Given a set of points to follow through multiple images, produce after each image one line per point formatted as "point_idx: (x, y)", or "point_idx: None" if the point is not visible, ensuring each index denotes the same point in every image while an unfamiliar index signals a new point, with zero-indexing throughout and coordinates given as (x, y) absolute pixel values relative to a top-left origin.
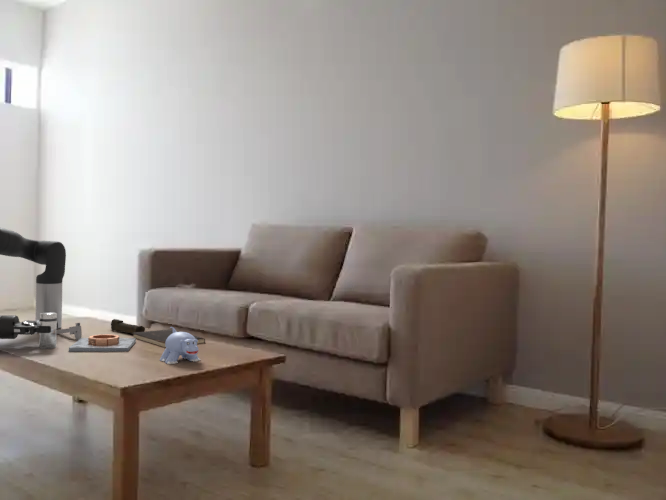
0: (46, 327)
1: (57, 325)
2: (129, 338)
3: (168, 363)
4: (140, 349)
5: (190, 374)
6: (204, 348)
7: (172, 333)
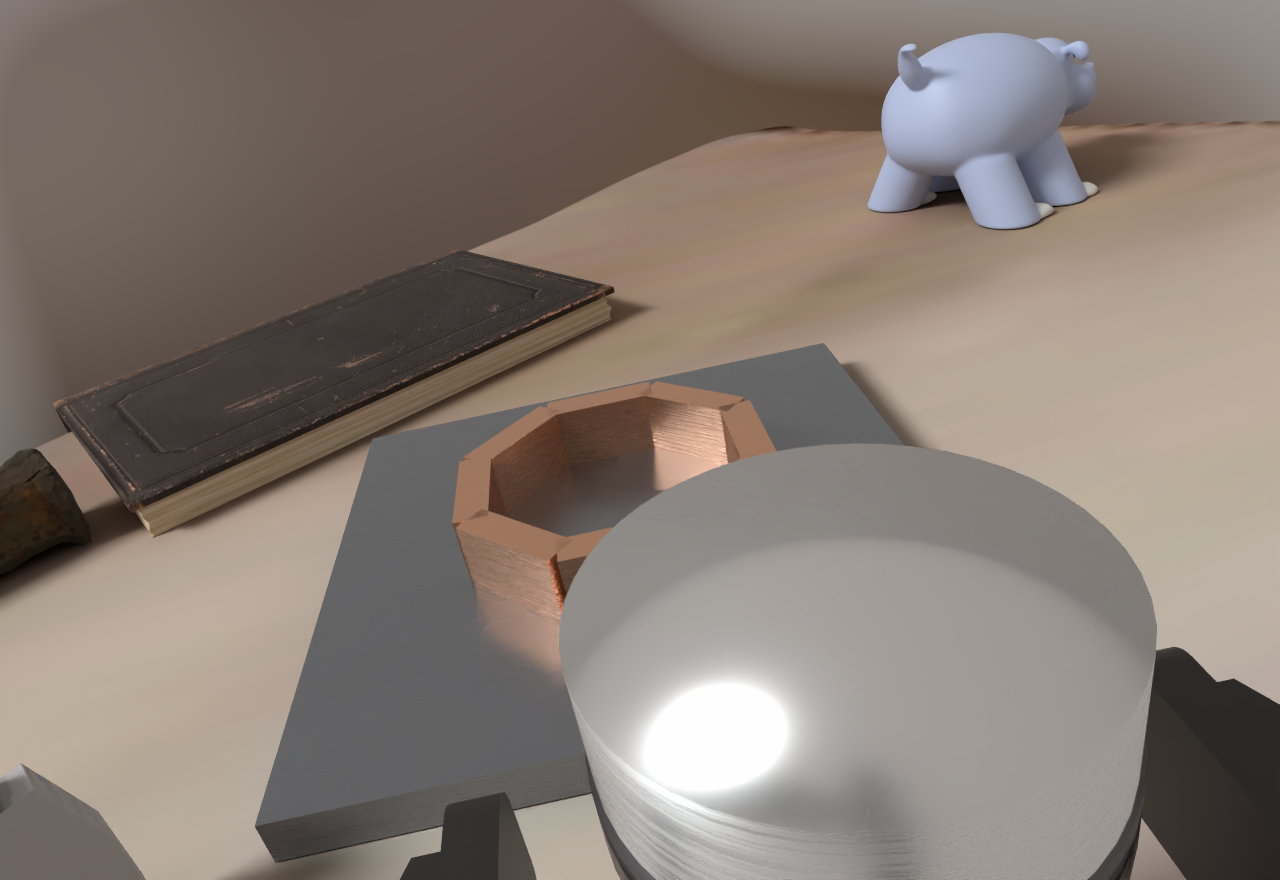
0: (1232, 722)
1: (520, 831)
2: (384, 459)
3: (1097, 188)
4: (718, 358)
5: (1244, 122)
6: (626, 238)
7: (260, 350)
